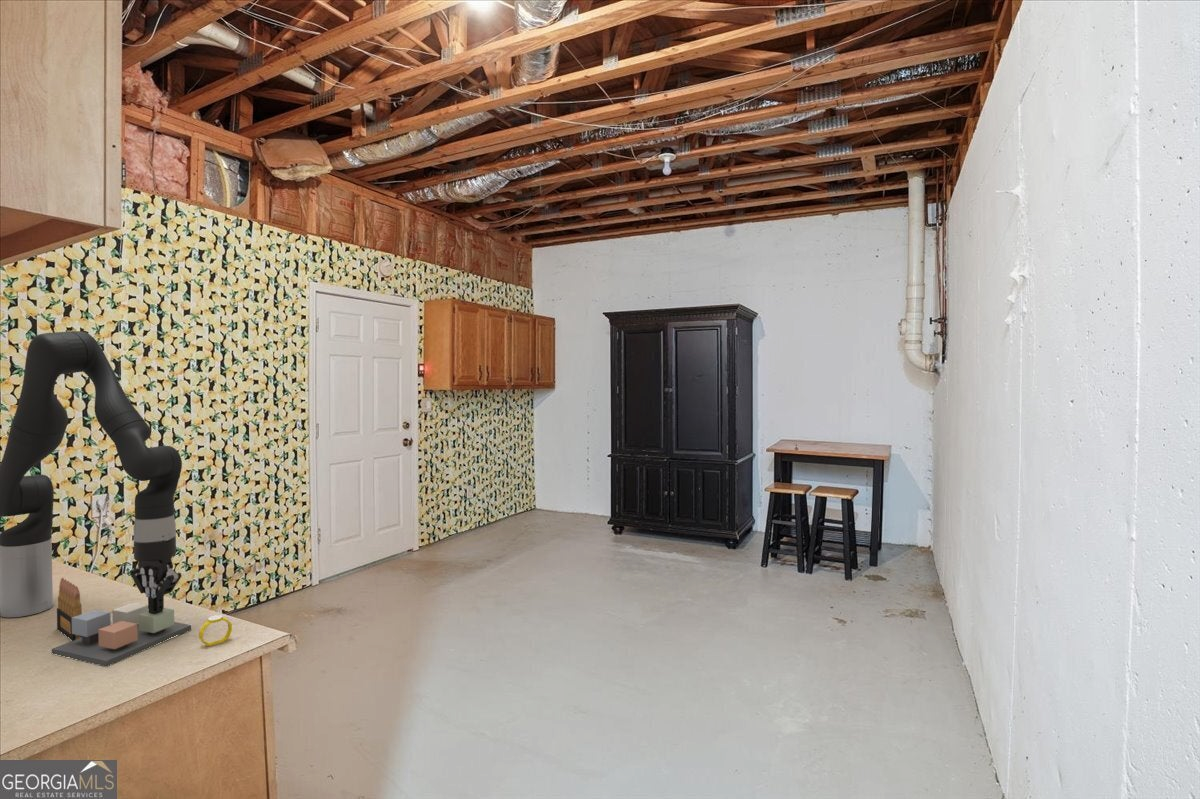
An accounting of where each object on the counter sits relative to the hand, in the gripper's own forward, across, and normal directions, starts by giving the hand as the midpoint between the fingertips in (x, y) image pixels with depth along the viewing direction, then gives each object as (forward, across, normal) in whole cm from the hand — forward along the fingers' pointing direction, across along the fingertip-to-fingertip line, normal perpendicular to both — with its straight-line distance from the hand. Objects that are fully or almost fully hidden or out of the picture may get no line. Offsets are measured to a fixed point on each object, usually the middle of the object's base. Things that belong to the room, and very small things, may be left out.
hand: (156, 612), depth 132 cm
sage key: (+4, 0, 0) cm, 4 cm away
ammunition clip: (+6, -19, -5) cm, 21 cm away
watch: (+6, +15, +2) cm, 16 cm away
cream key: (+3, -8, 0) cm, 9 cm away
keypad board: (+6, -4, -4) cm, 8 cm away
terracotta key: (+3, 0, -8) cm, 9 cm away
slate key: (+2, -8, -8) cm, 12 cm away
